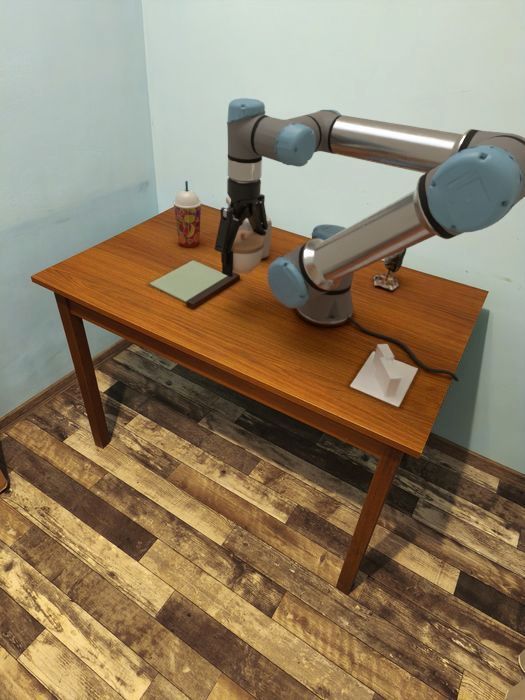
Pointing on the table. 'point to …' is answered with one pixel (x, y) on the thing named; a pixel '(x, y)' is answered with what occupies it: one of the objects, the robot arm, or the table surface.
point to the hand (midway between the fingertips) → (241, 266)
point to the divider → (212, 291)
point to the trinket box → (247, 251)
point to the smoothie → (187, 217)
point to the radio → (247, 227)
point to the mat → (188, 280)
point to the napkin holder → (384, 376)
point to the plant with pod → (390, 271)
